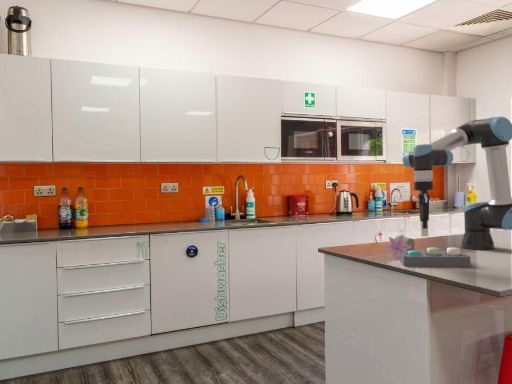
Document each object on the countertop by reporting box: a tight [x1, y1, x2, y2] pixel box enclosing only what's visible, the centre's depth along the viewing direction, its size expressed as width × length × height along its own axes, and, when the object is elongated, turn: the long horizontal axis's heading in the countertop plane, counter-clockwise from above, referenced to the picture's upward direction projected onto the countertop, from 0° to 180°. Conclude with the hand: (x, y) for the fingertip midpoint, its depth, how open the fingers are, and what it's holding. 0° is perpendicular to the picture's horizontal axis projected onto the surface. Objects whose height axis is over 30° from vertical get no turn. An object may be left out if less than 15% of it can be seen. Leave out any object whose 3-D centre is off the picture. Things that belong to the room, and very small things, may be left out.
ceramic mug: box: [394, 235, 416, 252], centre depth 219 cm, size 11×8×8 cm
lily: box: [383, 234, 411, 259], centre depth 204 cm, size 12×12×10 cm
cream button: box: [446, 247, 461, 256], centre depth 184 cm, size 5×5×4 cm
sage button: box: [426, 246, 441, 255], centre depth 186 cm, size 5×5×4 cm
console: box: [399, 251, 471, 268], centre depth 186 cm, size 26×12×4 cm, turn 79°
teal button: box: [408, 249, 421, 255], centre depth 187 cm, size 5×5×4 cm
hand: (424, 235), depth 187 cm, fingers closed
